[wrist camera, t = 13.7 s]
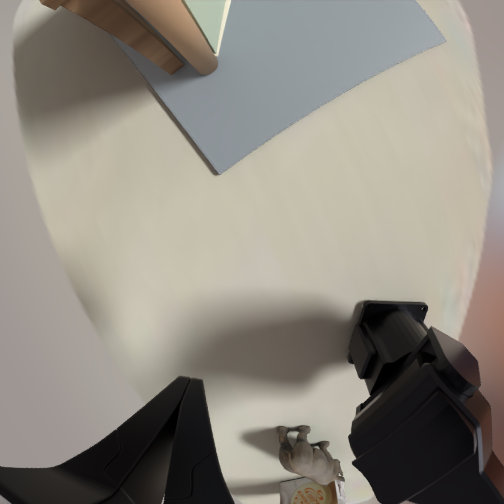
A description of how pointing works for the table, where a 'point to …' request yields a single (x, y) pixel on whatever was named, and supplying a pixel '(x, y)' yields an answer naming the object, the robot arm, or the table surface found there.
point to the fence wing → (187, 27)
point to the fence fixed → (123, 28)
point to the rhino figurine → (308, 458)
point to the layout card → (283, 66)
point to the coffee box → (311, 492)
